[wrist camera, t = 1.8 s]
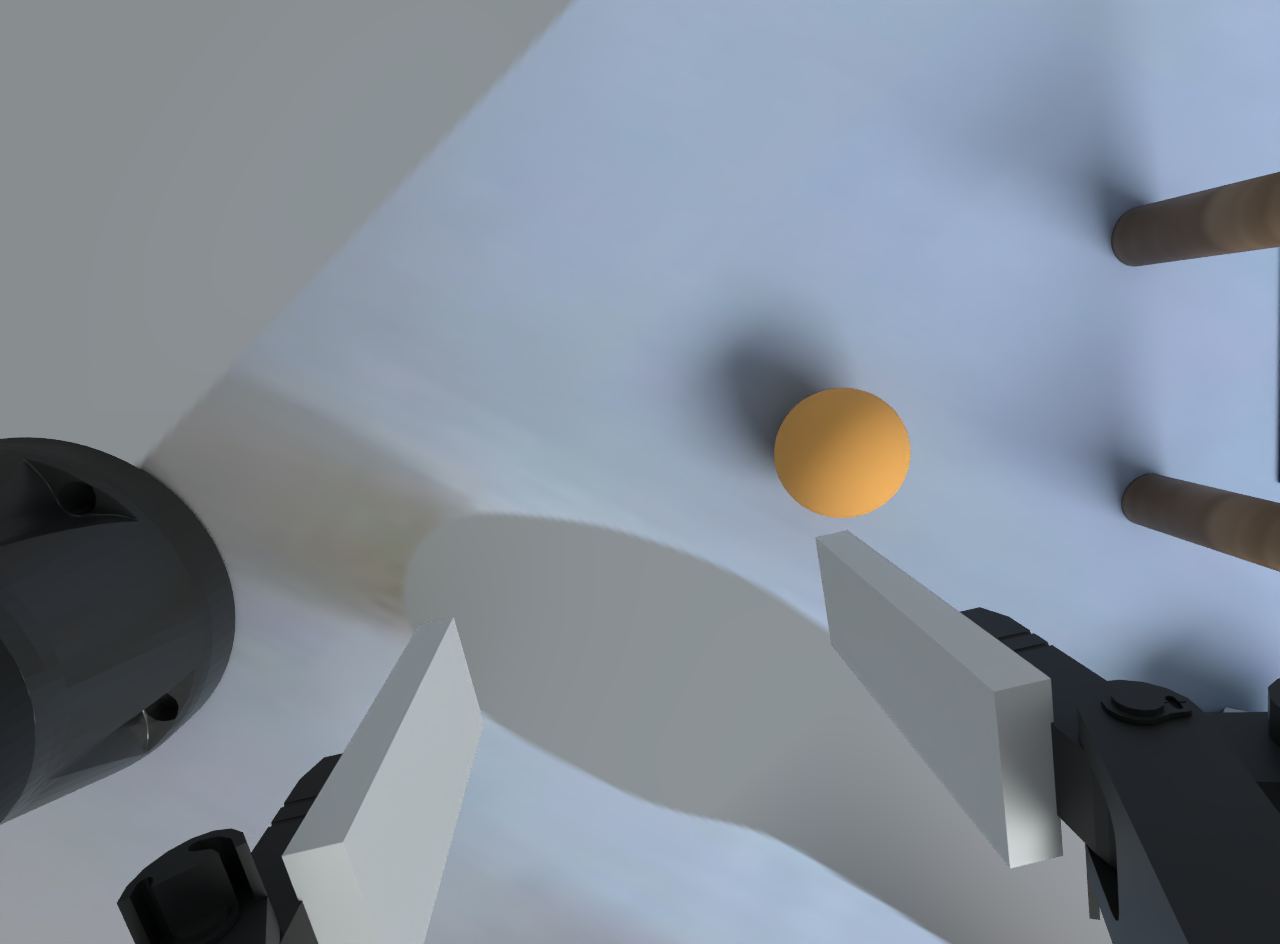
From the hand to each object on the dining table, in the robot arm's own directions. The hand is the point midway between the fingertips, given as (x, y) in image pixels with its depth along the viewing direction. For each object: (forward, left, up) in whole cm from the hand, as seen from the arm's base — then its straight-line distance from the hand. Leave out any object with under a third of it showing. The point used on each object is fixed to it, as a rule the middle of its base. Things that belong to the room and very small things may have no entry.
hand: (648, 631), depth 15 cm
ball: (+10, 0, -13) cm, 16 cm away
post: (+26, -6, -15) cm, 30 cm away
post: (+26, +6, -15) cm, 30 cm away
